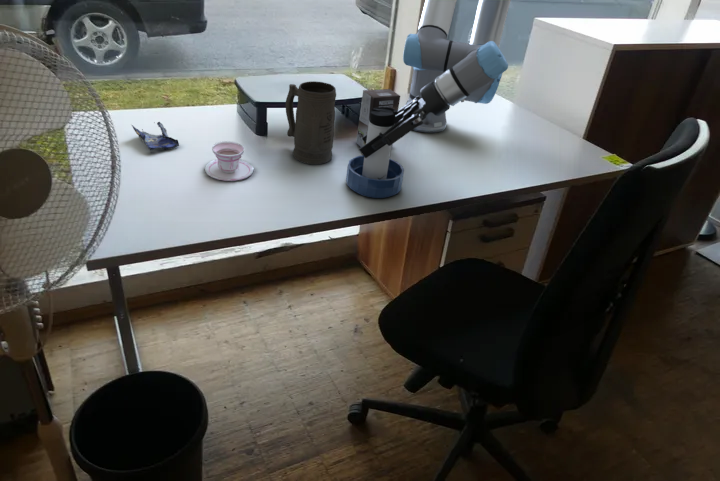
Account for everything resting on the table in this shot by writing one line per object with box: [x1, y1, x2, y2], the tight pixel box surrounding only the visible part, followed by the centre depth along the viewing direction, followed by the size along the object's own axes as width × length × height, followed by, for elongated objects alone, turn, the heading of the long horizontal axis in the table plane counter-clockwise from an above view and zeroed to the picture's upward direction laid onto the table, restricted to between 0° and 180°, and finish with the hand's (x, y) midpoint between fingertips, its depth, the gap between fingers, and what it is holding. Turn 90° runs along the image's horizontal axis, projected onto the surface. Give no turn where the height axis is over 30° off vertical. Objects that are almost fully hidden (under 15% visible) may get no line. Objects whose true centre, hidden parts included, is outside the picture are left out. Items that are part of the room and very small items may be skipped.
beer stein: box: [285, 80, 337, 165], centre depth 151 cm, size 15×11×20 cm
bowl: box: [345, 154, 405, 199], centre depth 143 cm, size 14×14×6 cm
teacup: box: [204, 140, 254, 182], centre depth 141 cm, size 12×12×6 cm
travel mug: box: [362, 107, 399, 179], centre depth 139 cm, size 6×7×20 cm
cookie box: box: [355, 88, 401, 149], centre depth 162 cm, size 9×6×16 cm
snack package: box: [131, 121, 180, 154], centre depth 149 cm, size 12×6×12 cm
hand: (364, 147), depth 139 cm, fingers closed on travel mug, 6 cm apart
